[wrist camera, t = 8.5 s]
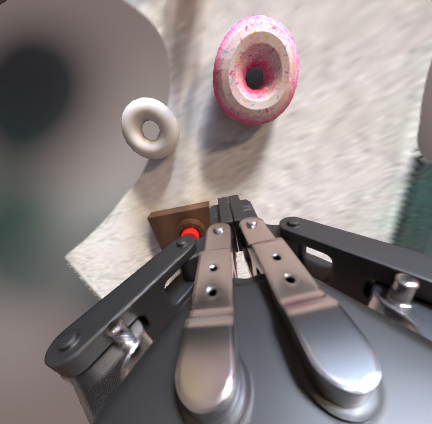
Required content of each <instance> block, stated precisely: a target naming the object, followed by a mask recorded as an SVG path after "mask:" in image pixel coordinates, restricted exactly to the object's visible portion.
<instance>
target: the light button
mask: <svg viewBox="0 0 432 424" xmlns="http://www.w3.org/2000/svg"><path fill="white" fill-rule="evenodd" d="M182 236H191V237H193V238H194V239H195V240H197V239H199V232H198V231H197V230H196V229H194V228H186V229H184V230H183V231H182V234H181V237H182Z"/></svg>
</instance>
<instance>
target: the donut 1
mask: <svg viewBox="0 0 432 424" xmlns="http://www.w3.org/2000/svg"><path fill="white" fill-rule="evenodd" d="M148 120H151V121H154V122H155V123H157V125H158V126H159V129H160V136H159V138H158V139H157V140H154V141H151V140H149V139H147V138H146V137H145V136H144V134H143V132H142V125H143V123H144V122H145V121H148ZM121 127H122V132H123V135H124V138H125V139H126V142H127V144H128V145H129V146H130V147H131V148H132V149H133V150H134V151H135V152H136V153H138V154H139V155H141V156H143V157H146V158H148V159H161V158H164V157H167V156H168V155H169V154H171V153H172V152H173V150H174V149H175V147H176V146H177V143H178V139H179V127H178V124H177V121H176V118H175V117H174V115H173V114H172V112H171V111H170V109H169V108H168V107H166V106H165V105H164V104H163V103H161V102H159V101H157V100H155V99H152V98H140V99H137V100H134V101H132V102H131V103H130V104H129V105H128V106H127V107H126V109H125V111H124V113H123V115H122V121H121Z"/></svg>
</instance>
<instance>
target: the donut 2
mask: <svg viewBox="0 0 432 424" xmlns="http://www.w3.org/2000/svg"><path fill="white" fill-rule="evenodd" d="M252 67H258V68H260V69H261V70H262V71H263V76H264V80H263V84H262V85H261V86H260V87H259V88H258V89H255V90H252V89H250V88H249V87H248V86H247V84H246V81H245V77H246V73H247V72H248V71H249V70H250V69H251V68H252ZM298 75H299V58H298V51H297V48H296V45H295V42H294V39H293V37H292V36H291V34H290V33H289V31H288V30H287V29H286V28H285V27H284V26H283V25H282V24H281V23H280V22H279V21H277V20H275V19H273V18H271V17H267V16H262V15H257V16H250V17H247V18H245V19H243V20H241V21H239V22H238V23H237V24H236V25H234V26H233V27H232V28H231V29H230V31H229V32H228V33H227V35H226V36H225V37H224V39H223V41H222V43H221V45H220V47H219V49H218V53H217V56H216V59H215V64H214V70H213V87H214V93H215V97H216V99H217V102H218V104H219V106H220V107H221V109H222V111H223V112H224V113H225V114H226V115H228V116H229V117H230V118H232V119H234V120H235V121H238V122H240V123H243V124H248V125H261V124H264V123H268V122H270V121H272V120H274V119H275V118H277V117H278V116H279V115H280V114H282V113H283V112H284V110H285V109H286V108H287V107H288V105H289V103H290V102H291V100H292V98H293V96H294V93H295V90H296V87H297V81H298Z"/></svg>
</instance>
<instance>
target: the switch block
mask: <svg viewBox="0 0 432 424" xmlns="http://www.w3.org/2000/svg"><path fill="white" fill-rule="evenodd" d="M209 209H210V204H209V201H207V202H202V203H197V204H192V205H187V206H182V207H177V208H172V209H167V210H162V211H157V212H152V213H150V215H149V217H148V221H149V223H150V225H151V227H152V229H153V232H154V234H155V236H156V238H157V241H158V243H159V245H160V247H161V249H162V250H163V249H164V248H166V247H167V246H168V245H169V244H170V243H172V242H173V241H174V240H175V239H177V238H179V237H181V234H182V231H183V230H184V229H186V228H194V229H196V230H197V231H198V232H199V239H200V238H202V237H204V236H205V235H206V232H207V229H208V228H209V227H210V225H209Z"/></svg>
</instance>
